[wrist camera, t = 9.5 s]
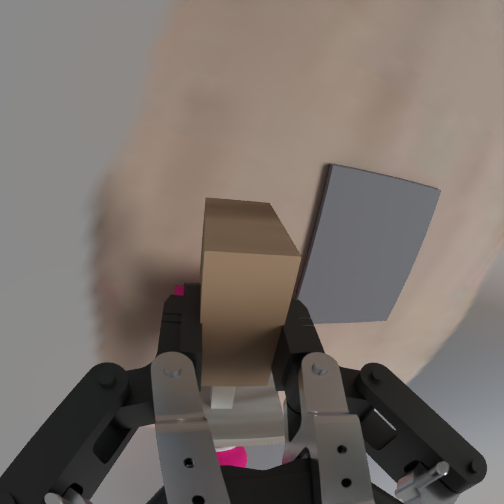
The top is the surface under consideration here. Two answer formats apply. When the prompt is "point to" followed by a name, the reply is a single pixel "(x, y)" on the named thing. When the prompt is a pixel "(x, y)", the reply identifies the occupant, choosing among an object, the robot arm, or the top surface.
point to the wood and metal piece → (243, 319)
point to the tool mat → (363, 244)
